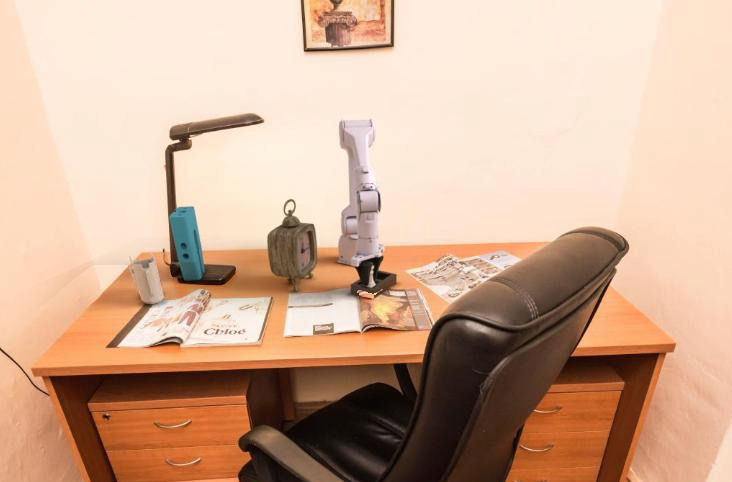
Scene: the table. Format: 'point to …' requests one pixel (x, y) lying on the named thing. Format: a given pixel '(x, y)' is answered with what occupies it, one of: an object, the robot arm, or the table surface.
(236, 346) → the table surface
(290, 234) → the tabletop clock
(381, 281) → the rack
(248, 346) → the table surface
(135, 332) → the table surface
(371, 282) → the rook chess piece
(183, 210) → the block
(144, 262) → the cable organizer
